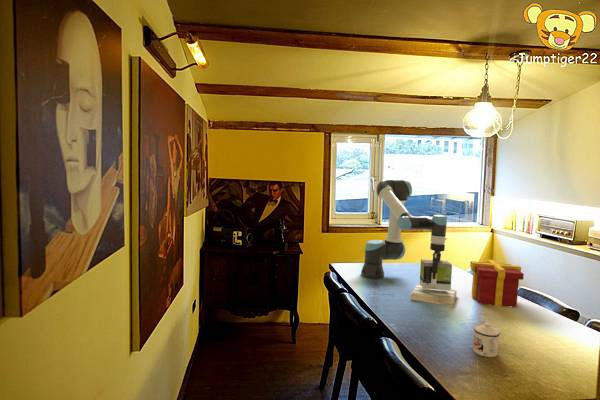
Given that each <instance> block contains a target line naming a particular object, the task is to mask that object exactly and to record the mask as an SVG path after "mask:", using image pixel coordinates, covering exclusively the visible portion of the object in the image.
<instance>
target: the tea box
mask: <svg viewBox="0 0 600 400" xmlns="http://www.w3.org/2000/svg"><path fill="white" fill-rule="evenodd" d="M432 264H433V259H421V258H420V273H419V284H420V285H421V286H422V288H423V289H437V290H451V289H452V288H451V287H452V272H453V264H452V263H451V262H449V261H448V260H441V259H440V260H439V262H438V267H437V282H436V285H432V284H431V277H432V273H431V272H430V271H432ZM435 271H436V270H435Z"/></svg>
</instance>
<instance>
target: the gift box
mask: <svg viewBox="0 0 600 400" xmlns="http://www.w3.org/2000/svg"><path fill="white" fill-rule="evenodd" d="M469 266H470V271H471V272H472V284H471V285H472V286H471V298H472V300H476V302H477V301H478V302H477V303H478V304H479V303H481V305H489V304H491V306H495V307H499V306H502V307H508V306H512V307H511V308H517V307H518V306H517V305H518V296H519V293H518V292H519V284H520V280H521V281H523V280H524V273H523V272H522V266H520V265H512V264H509V263H506V264H505V263H498V262H496V261H495V260H493V259H487V260H486V262H485V261H483V262H482V261H472V260H470V265H469Z"/></svg>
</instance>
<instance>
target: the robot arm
mask: <svg viewBox="0 0 600 400" xmlns="http://www.w3.org/2000/svg"><path fill="white" fill-rule="evenodd" d="M412 193H413V187H412V183H411V182H410V181H409V180H408V179H403V178H384V179H382V180H381V181H379V182H378V184H377V185H376V195H377V197H378V198H379V199H380V200H382V201H383V202H384V203H385V204H386V206H387V207H388V208H389V209H390V210H389V219H388V228H387V236H386V237H385V238H384V240H381V239H372V240H371V239H370V240H367V241H366V243H365V246H364V261H363V265H362V269H361V272H360V275H361V276H362V277H365V278H368V279H373V280H375V279H377V280H378V279H383V278H385V271H384V266H383V261H389V260H391V261H396V260H401V259H402V258H404V256H405V254H406V245H405V243H404V241H403V240H402V237H401V236H402V230H404V231H416V230H417V231H418V230H419V231H423V230H425V231H430V232H431V233H430V247H429V248H430V250H431V251H434V252H433V254H432V260H433V264H432V271H430V272H431V273H432V277H431V284H432V285H436V282H437V267H438V262H439V260H441V257H442V253H441V252H444V251H445V249H446V244H445V243H446V240H447V237H446V235H447V234H446V233H447V225H448V224H447V223H448V222H447V219H448V218H447V216H446V215H442V214H433V215H432V216H429V215H422V216H413V215H412V214H410V212H409V211H408V209H407V208H406V207H405V203H406V202H408V198H410V197H411V195H412ZM435 270H436V271H435Z"/></svg>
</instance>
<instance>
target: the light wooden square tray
mask: <svg viewBox="0 0 600 400" xmlns="http://www.w3.org/2000/svg"><path fill="white" fill-rule="evenodd" d="M456 298H457V290H456V289H455V288H454V289H453V288H451V290H437V289H423V288H422V286H421V285H420V283H417V284H416V285H415V287H414V288H413V290H412V291H411V293H410V300H413V301H418V302H425V303H429V304H434V305H435V304H437V305H441V306H447V307H455V302H456Z"/></svg>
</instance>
